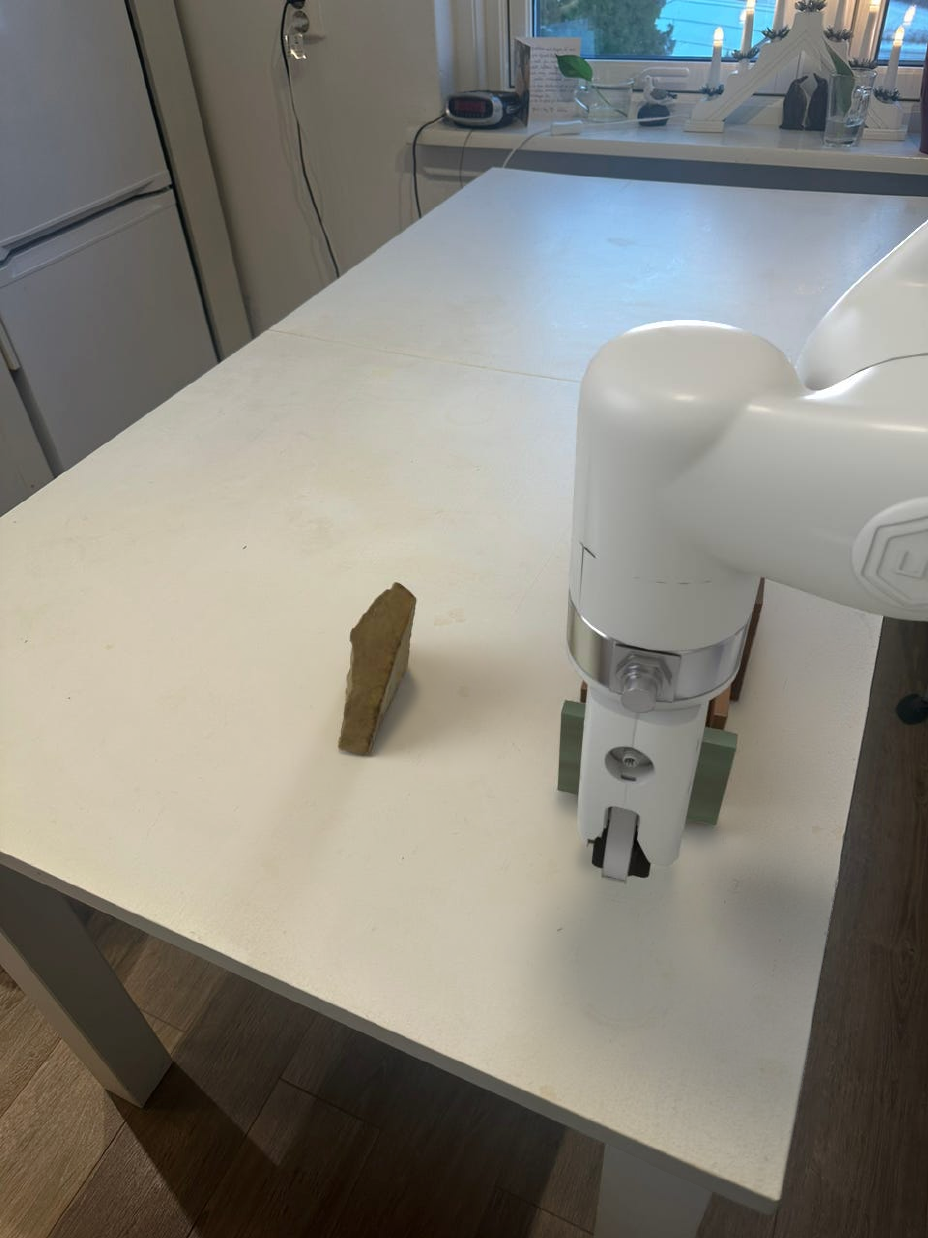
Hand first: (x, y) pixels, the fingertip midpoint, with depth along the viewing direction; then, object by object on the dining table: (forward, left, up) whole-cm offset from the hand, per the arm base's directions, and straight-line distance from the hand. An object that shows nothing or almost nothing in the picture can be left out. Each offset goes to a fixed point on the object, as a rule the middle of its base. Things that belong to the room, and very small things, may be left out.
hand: (621, 860), depth 50 cm
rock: (+21, -12, -5) cm, 25 cm away
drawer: (0, -12, -4) cm, 13 cm away
